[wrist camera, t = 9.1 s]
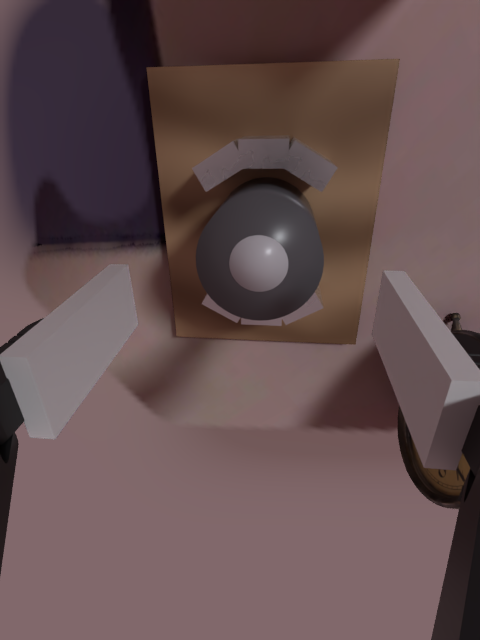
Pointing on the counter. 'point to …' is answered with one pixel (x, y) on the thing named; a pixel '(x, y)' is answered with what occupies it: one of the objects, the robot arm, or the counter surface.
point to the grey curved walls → (267, 156)
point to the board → (274, 174)
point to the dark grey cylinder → (261, 251)
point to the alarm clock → (430, 482)
